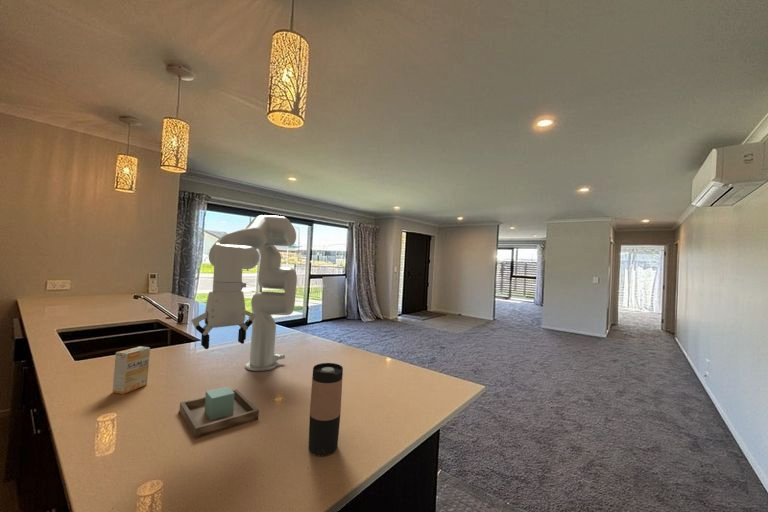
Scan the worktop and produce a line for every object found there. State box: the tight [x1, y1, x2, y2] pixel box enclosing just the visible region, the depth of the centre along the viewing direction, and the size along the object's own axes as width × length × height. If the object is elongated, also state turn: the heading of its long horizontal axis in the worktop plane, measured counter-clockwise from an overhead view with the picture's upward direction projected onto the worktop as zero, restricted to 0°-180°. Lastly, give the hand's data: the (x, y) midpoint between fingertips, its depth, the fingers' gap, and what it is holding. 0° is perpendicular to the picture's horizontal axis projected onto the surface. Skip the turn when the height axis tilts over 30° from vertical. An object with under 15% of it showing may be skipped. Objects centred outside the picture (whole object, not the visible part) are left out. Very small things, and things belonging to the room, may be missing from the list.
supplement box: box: [112, 346, 151, 395], centre depth 104 cm, size 8×5×13 cm, turn 168°
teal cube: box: [204, 386, 235, 420], centre depth 90 cm, size 6×6×6 cm
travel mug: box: [308, 362, 344, 457], centre depth 78 cm, size 8×8×20 cm
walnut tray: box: [179, 389, 260, 439], centre depth 90 cm, size 16×18×2 cm
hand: (224, 345), depth 91 cm, fingers open, 9 cm apart
